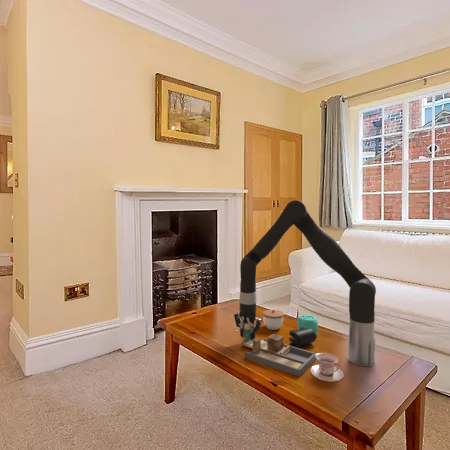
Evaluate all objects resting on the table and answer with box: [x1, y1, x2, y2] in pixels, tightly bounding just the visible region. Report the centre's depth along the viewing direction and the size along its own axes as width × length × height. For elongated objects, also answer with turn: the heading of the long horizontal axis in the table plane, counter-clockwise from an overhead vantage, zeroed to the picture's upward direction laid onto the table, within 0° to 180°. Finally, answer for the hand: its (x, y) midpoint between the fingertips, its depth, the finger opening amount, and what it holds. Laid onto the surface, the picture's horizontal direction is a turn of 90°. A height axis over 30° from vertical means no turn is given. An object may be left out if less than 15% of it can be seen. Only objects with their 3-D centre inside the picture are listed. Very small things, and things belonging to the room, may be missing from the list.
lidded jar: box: [262, 309, 285, 331], centre depth 163 cm, size 11×11×9 cm
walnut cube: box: [266, 333, 284, 352], centre depth 135 cm, size 5×5×5 cm
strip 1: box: [240, 325, 291, 355], centre depth 138 cm, size 20×8×6 cm, turn 54°
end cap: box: [288, 327, 317, 348], centre depth 143 cm, size 10×7×7 cm
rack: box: [244, 338, 317, 377], centre depth 130 cm, size 24×17×2 cm
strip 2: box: [252, 337, 302, 369], centre depth 126 cm, size 20×5×6 cm, turn 54°
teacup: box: [310, 352, 345, 383], centre depth 119 cm, size 12×12×6 cm
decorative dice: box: [297, 314, 319, 335], centre depth 156 cm, size 8×8×8 cm
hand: (247, 338), depth 143 cm, fingers open, 4 cm apart
